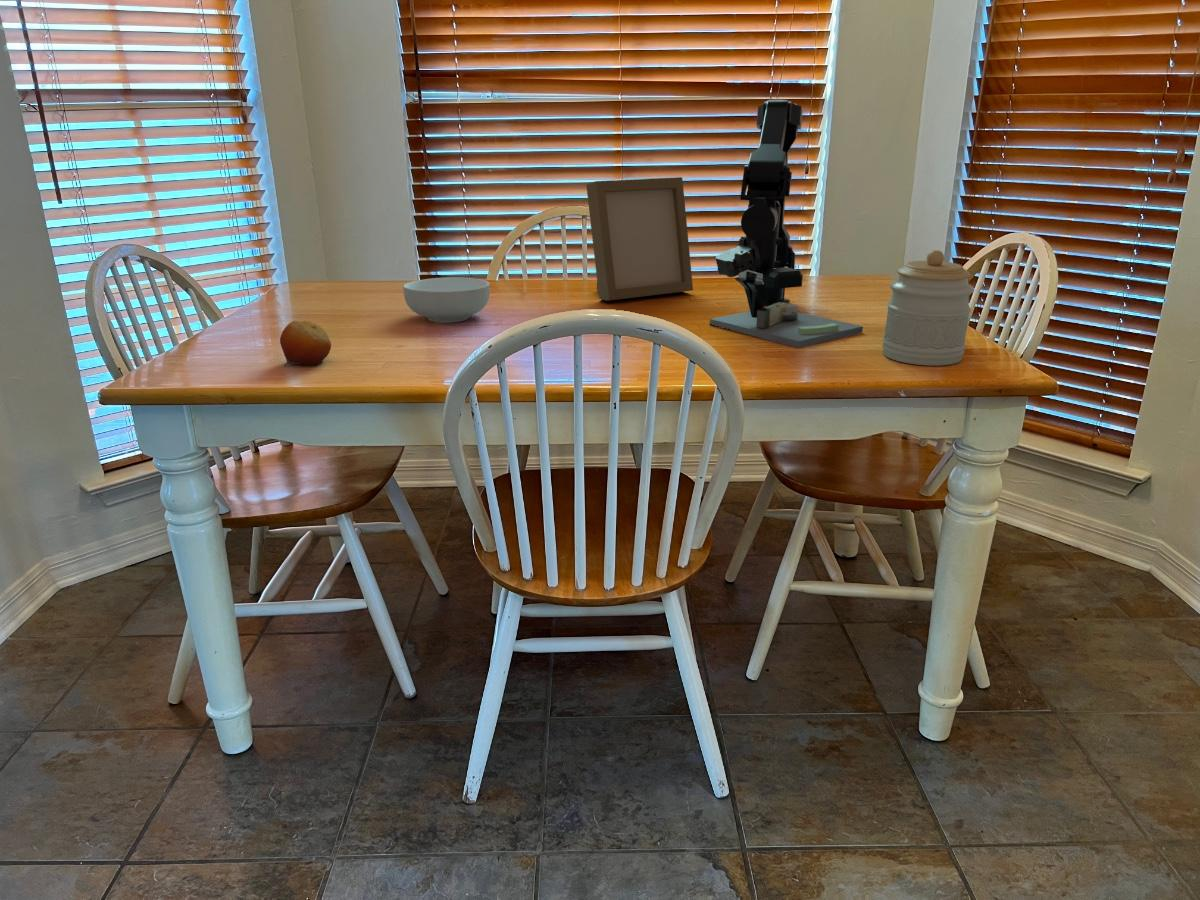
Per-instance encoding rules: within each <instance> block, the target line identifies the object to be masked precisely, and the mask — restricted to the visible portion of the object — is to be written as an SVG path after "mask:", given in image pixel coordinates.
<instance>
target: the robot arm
mask: <svg viewBox="0 0 1200 900" xmlns="http://www.w3.org/2000/svg"><path fill="white" fill-rule="evenodd" d="M756 115H757V116H756V128H757V129H758V130H760V134H759V135H760V137H759V138H760V140H759V145H758V148H756V149H754V150H753V151H752V152H750V154H749V155H750V156H749V158H748V162H747V163H748V164H745V165H744V167H743V175H742V182H741V189H740V196H739V197H740V198H739V200H740V201H748V205H747V209H746V210H745V211H744V212H743V214H742V217H741V220H740V226H741V227H740V228H741V230H742V232H743V233H744V235H745V236H740V238H739V240H738V241H739V242H738V246H736V247H733V248H730V249H728V250H726V251H723V252H721V253H720V254H718V255H716V256H715V262H716V266H717V272H718V274H719V275H725V276H726V277H727V278H734V280H735V281H736V282H738V283H739V285H741V286H742V287H743V289H744V292H745V294H746V299H747V303H748V307H749V311H750V312H751V316H752V317H753V318H757V310H759V309H762V308H765V307H766V306H770V305H773V304H775V303H778V302H783V303H790V299H788V298H785V295H786V294H785V292H786V289H790V288H791V289H792V288H799V287H802V286H803V280H804V279H803V277H804V274H803V273H802V271H801V270H799V269H795V267H796V266H795V265H796V253H795V252H794V249H793V245H790V244H791V235H790V234H789V232H788V230H787V228H786V226H785V225H784V220H785V219H784V218H785V208H786V207H785V206H786V197H790V192H791V186H792V185H791V184H792V177H793V172H792V171H791V170H790V169H791V168H790V165H788V161H789V150H790V149H791V147H792V146H793V144H794V143H795V141H796V139H797V137H798V133H799V132H798V131H799V130H801V129H802V123H803V107H802V106H801V105H798V104H797V103H793V102H792V101H791V100H790V101H789V100H788V99H768V100H767V101H764V102H763V104H761V105H759V106H757V112H756ZM737 276H738V277H737ZM765 305H766V306H765Z"/></svg>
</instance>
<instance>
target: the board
mask: <svg viewBox="0 0 1200 900" xmlns="http://www.w3.org/2000/svg"><path fill="white" fill-rule="evenodd" d="M710 324H712V325H715V326H714V327H716V326H719V327H718V328H720V327H723V328H726V329H725V330H727V329H730V330H729V331H731V330H734V331H733V332H735V331H737V332H736V333H739V332H741V333H740V334H743V333H744V334H743V335H746V334H748V335H747V336H750V335H751V337H754V336H755V337H754V338H759V339H762V340H766V341H770V342H773V341H774V342H775V343H777V342H778V344H781V345H786V346H790V347H794V348H796V349H800V348H803V347H807V346H812V345H816V344H819V343H824V342H828V341H833V340H837V339H841V338H846V337H850V336H853V335H859V334H862V333H863V330H864V325H859V324H853V323H851V322H846V321H842V320H836V319H831V318H827V317H824V316H817V315H813V314H809V313H804V312H800V311H798V319H797V320H794V321H781V322H779V323H776V324H774V325H772V326H769V327H767V328H764V329H763V328H757V327H756V324H757V318H753V317H752V316H751V312H750V310H748V311H743V312H738V313H734V314H728V315H722V316H718V317H714V318H713V317H712V318H710V319H709V325H710ZM712 325H711V326H712ZM723 328H722V329H723Z"/></svg>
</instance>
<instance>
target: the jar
mask: <svg viewBox="0 0 1200 900" xmlns="http://www.w3.org/2000/svg"><path fill="white" fill-rule="evenodd" d="M944 259H945V256H944V253H943V252H942V251H941V250H939V249H934V250H931V251H930V252H929V253H928V254H927V255H926V260H914V261H908V262H907V263H906V264H905V265H903V266H901V267H899V268H897V270H896V273H897V274H898V277H897V279H895V280H893V281H891V282H890V284H889V287H890V289H891V290H892V292H891V293H892V294H891V299H890V301H888V303H887V304H886V305H887V315H886V324H885V331H884V337H883V339H882V341H883V343H882V348H883V355H884V356H885V357H886V358H889V359H890V360H893V361H897V362H901V363H905V364H909V365H915V366H916V365H918V366H932V367H934V366H935V367H936V366H937V367H939V366H948V365H950V366H951V365H954V364H955V365H956V364H957V363H959V362H961V361H962V360H963V359H962V358H963V355H964V353H965V348H966V337H967V329H968V324H969V316H970V313H971V312H972V310H971V309H972V308H971V307H970V304H969V303H970V295H972V294H973V293H974V291H975V288H974V287H973V285H972V284H970V283H969V282H968V279H969V278H970V277H971V275H972V273H970V272H969V270H966V269H965V268H964V266H963V265H961V264H959V263H956V262H949V261H944Z"/></svg>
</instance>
